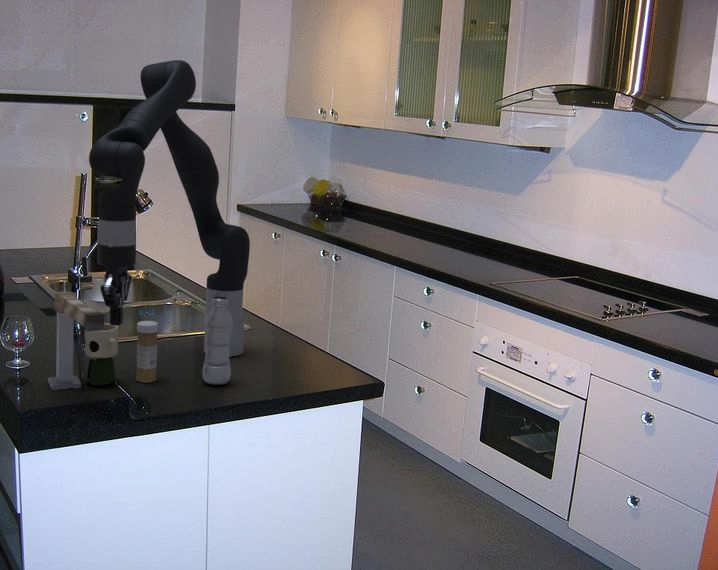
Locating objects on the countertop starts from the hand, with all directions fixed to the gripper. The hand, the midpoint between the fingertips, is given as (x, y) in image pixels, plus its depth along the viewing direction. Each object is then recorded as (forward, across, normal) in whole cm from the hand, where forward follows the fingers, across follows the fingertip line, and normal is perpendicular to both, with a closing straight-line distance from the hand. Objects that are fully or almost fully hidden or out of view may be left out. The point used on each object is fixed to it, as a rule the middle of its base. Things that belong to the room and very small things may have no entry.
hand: (116, 324), depth 178 cm
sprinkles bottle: (+17, -15, +2) cm, 22 cm away
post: (+16, -7, -14) cm, 22 cm away
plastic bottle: (+17, -17, +18) cm, 30 cm away
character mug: (+17, -10, -6) cm, 20 cm away
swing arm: (-1, 0, -8) cm, 8 cm away
